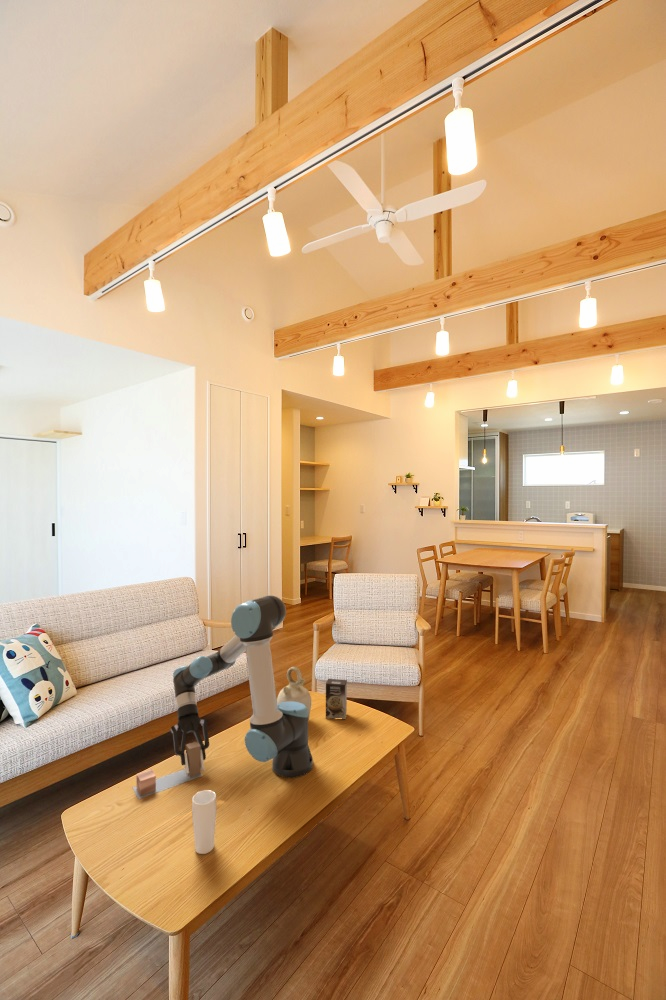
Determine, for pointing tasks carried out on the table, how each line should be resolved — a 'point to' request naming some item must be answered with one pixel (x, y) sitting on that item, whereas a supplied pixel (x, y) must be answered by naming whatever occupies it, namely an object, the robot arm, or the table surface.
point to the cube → (146, 782)
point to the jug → (295, 691)
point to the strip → (179, 776)
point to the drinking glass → (204, 820)
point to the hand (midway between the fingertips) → (195, 771)
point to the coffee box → (336, 698)
